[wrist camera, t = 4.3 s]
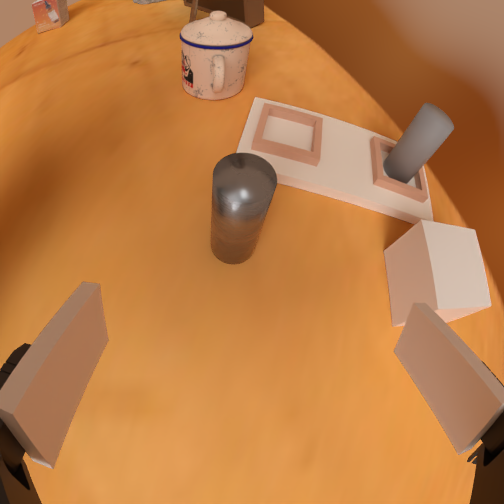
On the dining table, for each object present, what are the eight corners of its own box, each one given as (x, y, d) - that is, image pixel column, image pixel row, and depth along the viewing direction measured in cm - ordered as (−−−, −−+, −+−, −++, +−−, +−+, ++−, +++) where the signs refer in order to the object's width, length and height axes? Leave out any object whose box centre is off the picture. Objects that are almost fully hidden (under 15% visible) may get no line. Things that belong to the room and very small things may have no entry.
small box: (37, 34, 43) (30, 4, 34) (46, 25, 46) (40, -3, 36) (61, 26, 45) (55, -5, 35) (70, 18, 47) (65, -12, 37)
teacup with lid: (180, 70, 37) (181, 3, 27) (240, 68, 39) (250, 3, 28) (180, 118, 33) (177, 36, 22) (253, 115, 34) (268, 36, 24)
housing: (392, 326, 26) (438, 309, 19) (383, 251, 29) (421, 219, 23) (446, 322, 27) (491, 306, 20) (436, 256, 30) (474, 229, 24)
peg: (205, 258, 26) (205, 194, 17) (216, 220, 28) (222, 147, 19) (249, 268, 26) (271, 210, 17) (258, 229, 28) (281, 160, 19)
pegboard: (231, 172, 30) (244, 82, 20) (253, 105, 35) (268, 30, 25) (426, 228, 31) (487, 176, 21) (415, 158, 36) (457, 104, 26)
